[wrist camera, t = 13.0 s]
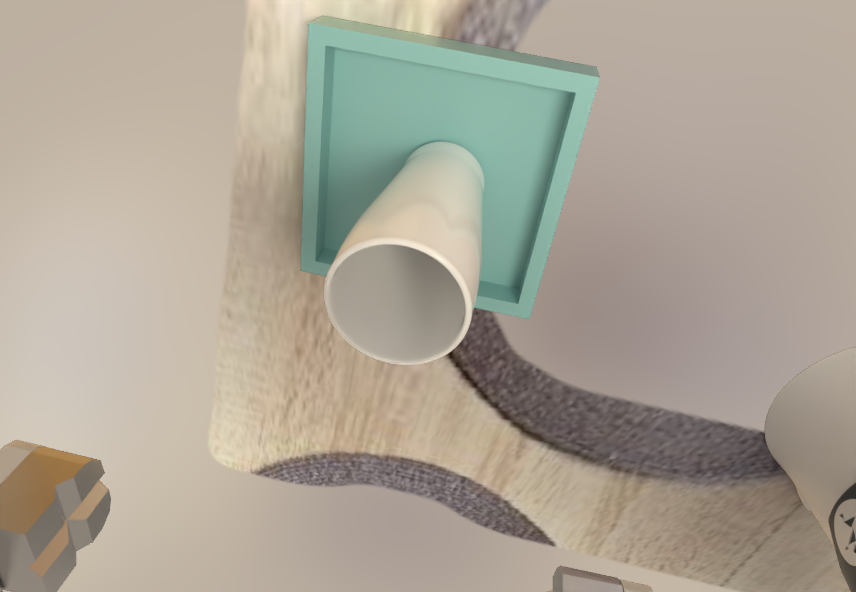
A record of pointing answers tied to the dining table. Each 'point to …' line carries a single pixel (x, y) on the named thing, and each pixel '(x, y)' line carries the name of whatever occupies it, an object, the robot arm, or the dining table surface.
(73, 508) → the robot arm
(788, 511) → the dining table surface
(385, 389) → the dining table surface
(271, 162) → the dining table surface
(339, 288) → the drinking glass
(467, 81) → the tray
